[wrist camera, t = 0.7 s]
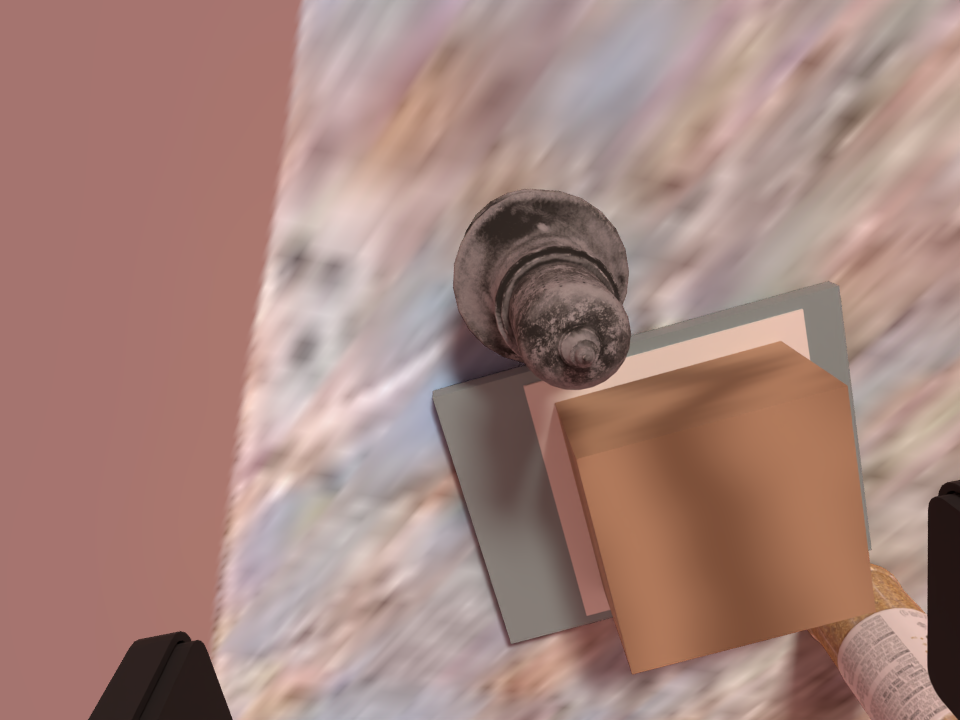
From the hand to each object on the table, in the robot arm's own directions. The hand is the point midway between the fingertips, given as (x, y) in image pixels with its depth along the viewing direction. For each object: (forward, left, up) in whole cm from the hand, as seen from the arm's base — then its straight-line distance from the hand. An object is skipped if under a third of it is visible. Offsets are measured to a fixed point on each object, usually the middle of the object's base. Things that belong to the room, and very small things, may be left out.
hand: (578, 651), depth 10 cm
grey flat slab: (-5, +9, -20) cm, 23 cm away
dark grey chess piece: (-2, -1, -20) cm, 20 cm away
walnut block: (-6, +9, -19) cm, 22 cm away
